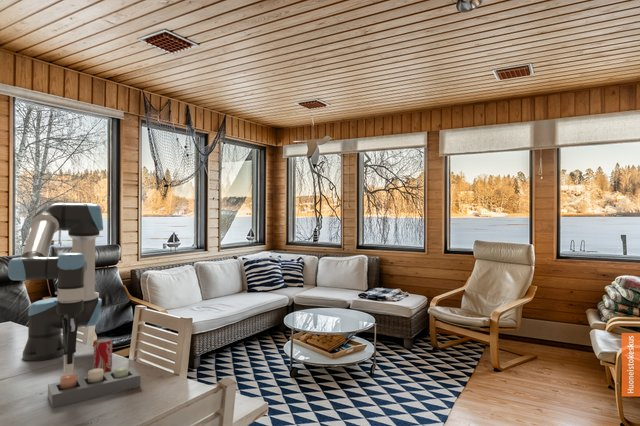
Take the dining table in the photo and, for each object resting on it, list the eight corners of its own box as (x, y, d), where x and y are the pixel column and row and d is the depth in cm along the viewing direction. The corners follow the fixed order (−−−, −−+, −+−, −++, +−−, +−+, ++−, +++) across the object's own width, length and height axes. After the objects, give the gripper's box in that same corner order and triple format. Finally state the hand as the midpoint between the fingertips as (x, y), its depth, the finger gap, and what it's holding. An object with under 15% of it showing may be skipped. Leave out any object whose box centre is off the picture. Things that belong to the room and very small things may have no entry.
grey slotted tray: (47, 396, 135) (48, 384, 135) (131, 377, 151) (132, 366, 151) (52, 408, 127) (52, 395, 127) (140, 386, 144) (140, 375, 144)
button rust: (58, 385, 134) (59, 375, 134) (75, 381, 137) (75, 372, 137) (61, 389, 131) (61, 380, 131) (77, 386, 134) (77, 377, 134)
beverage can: (103, 375, 153) (104, 343, 153) (89, 373, 154) (90, 341, 154) (115, 369, 159) (116, 338, 159) (101, 367, 160) (102, 337, 160)
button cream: (86, 379, 139) (86, 370, 139) (101, 376, 142) (101, 367, 142) (89, 383, 136) (89, 374, 136) (104, 380, 139) (105, 371, 139)
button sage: (112, 377, 144) (112, 368, 144) (126, 374, 147) (126, 366, 147) (115, 381, 141) (115, 372, 141) (129, 378, 144) (130, 369, 144)
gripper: (53, 298, 137) (52, 369, 136) (60, 305, 127) (58, 382, 126) (79, 296, 142) (78, 364, 141) (87, 302, 132) (85, 376, 131)
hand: (68, 372), depth 134 cm, fingers closed
